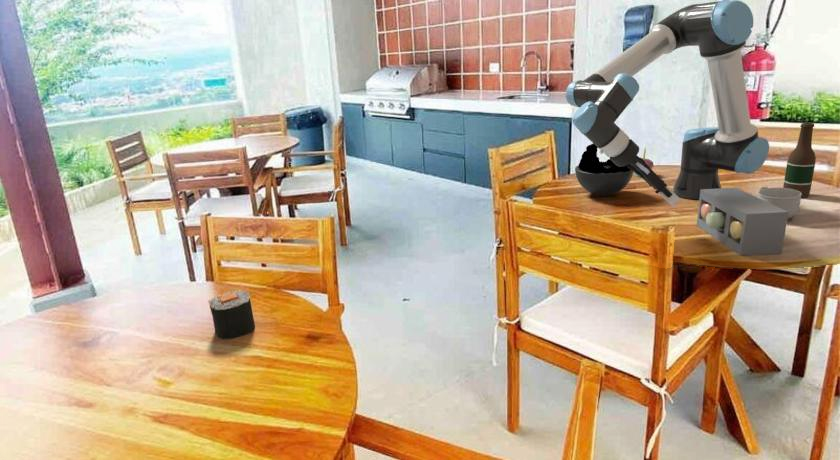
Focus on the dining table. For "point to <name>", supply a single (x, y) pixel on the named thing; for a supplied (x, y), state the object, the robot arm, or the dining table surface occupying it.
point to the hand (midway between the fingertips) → (676, 202)
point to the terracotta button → (705, 210)
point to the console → (745, 221)
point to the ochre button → (736, 229)
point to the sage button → (715, 220)
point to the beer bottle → (801, 163)
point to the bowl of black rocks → (601, 174)
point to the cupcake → (646, 162)
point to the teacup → (782, 198)
